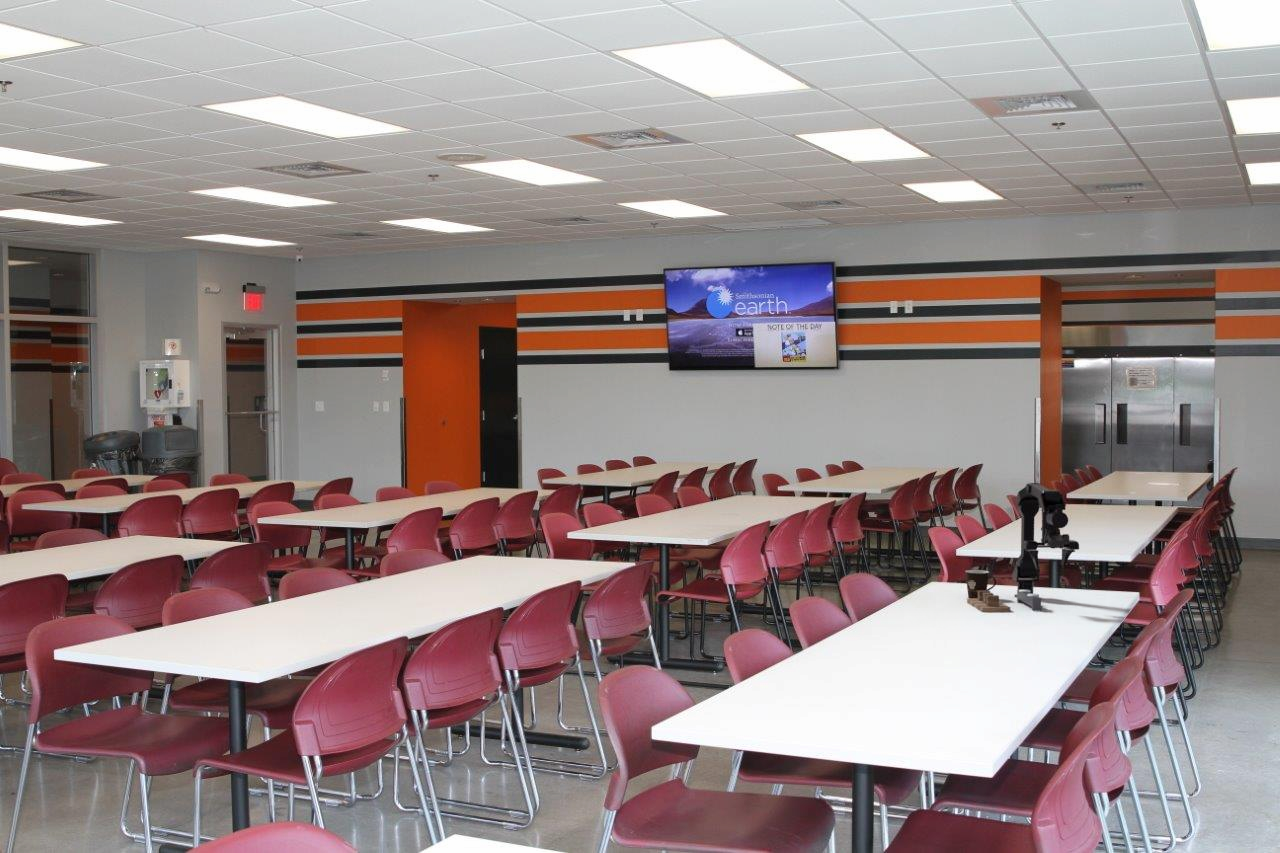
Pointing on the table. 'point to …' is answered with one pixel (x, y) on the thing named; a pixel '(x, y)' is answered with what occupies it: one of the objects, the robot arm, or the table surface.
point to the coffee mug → (977, 582)
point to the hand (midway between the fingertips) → (1050, 569)
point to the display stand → (988, 603)
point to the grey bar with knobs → (1029, 599)
